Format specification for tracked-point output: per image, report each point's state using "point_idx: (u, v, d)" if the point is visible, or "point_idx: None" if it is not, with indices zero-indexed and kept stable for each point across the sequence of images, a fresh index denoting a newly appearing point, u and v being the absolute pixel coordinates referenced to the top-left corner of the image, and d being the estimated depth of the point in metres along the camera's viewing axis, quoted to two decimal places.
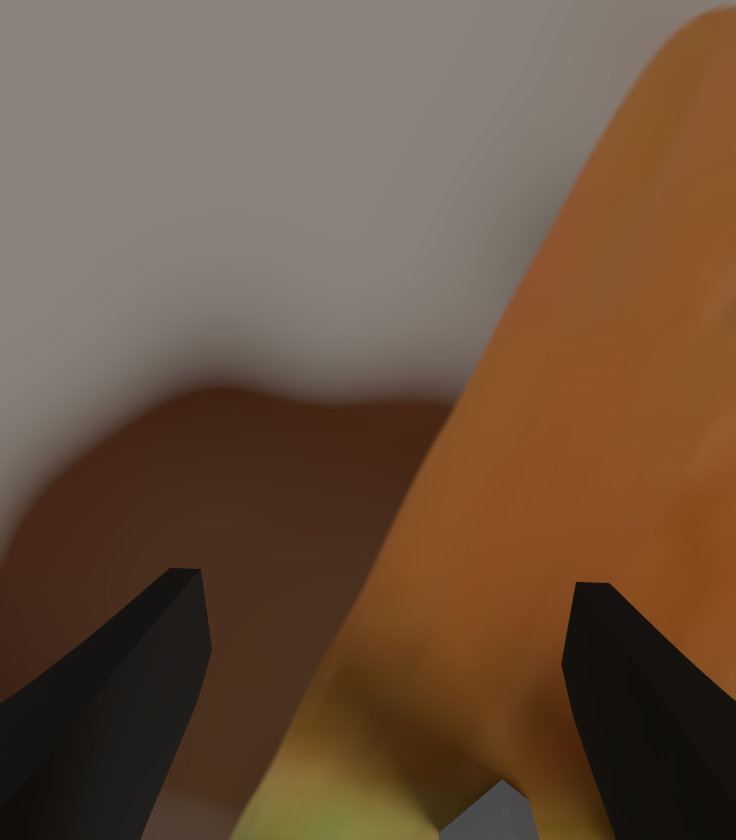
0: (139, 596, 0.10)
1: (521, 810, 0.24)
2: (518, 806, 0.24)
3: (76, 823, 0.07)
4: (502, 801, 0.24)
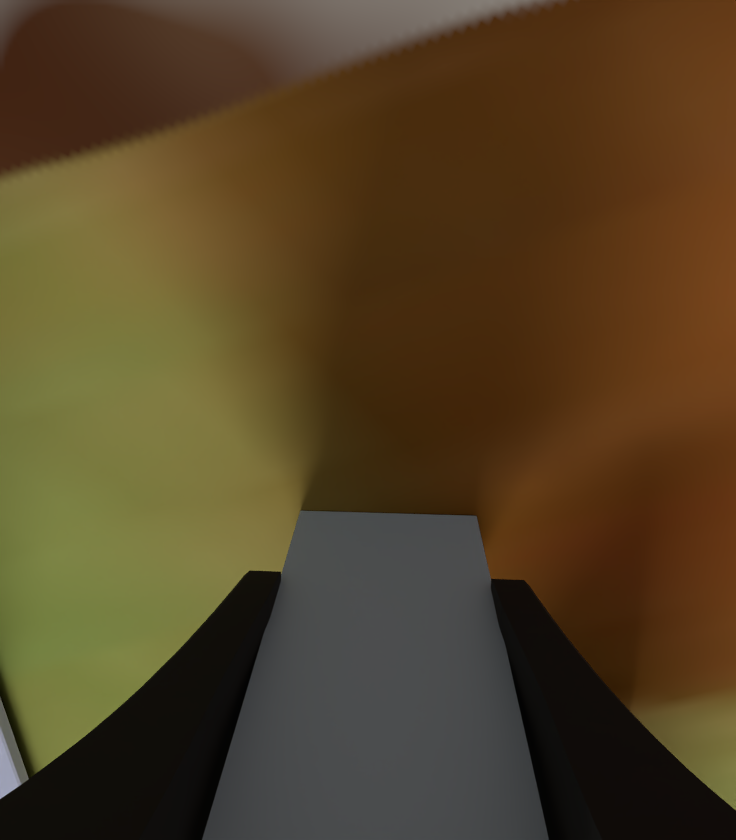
0: (228, 599, 0.10)
1: None
2: None
3: (198, 829, 0.07)
4: (471, 539, 0.12)
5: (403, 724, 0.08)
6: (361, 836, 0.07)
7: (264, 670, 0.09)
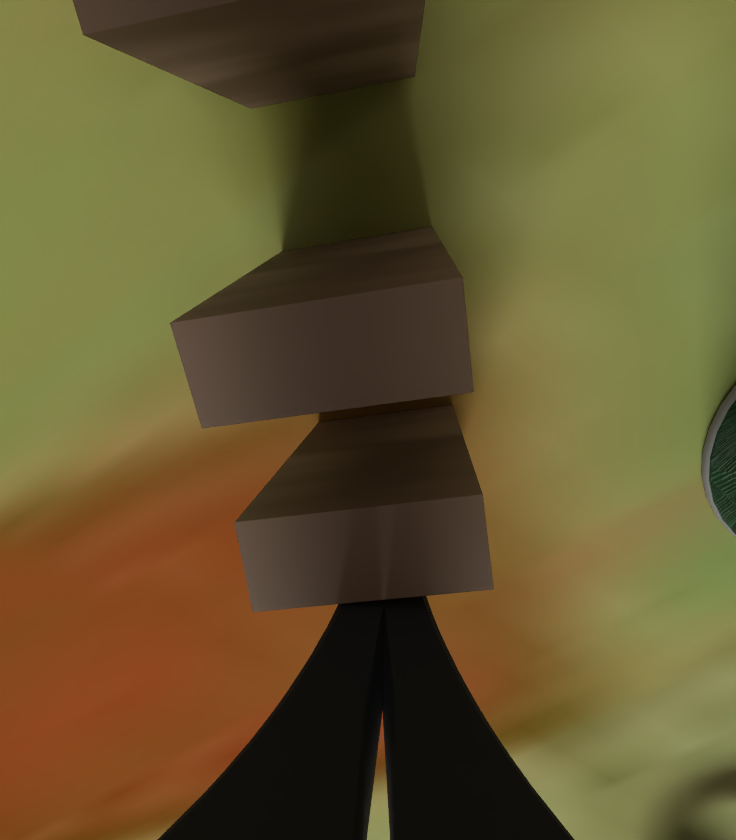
0: (345, 603, 0.10)
1: None
2: None
3: (359, 838, 0.07)
4: None
5: None
6: None
7: None
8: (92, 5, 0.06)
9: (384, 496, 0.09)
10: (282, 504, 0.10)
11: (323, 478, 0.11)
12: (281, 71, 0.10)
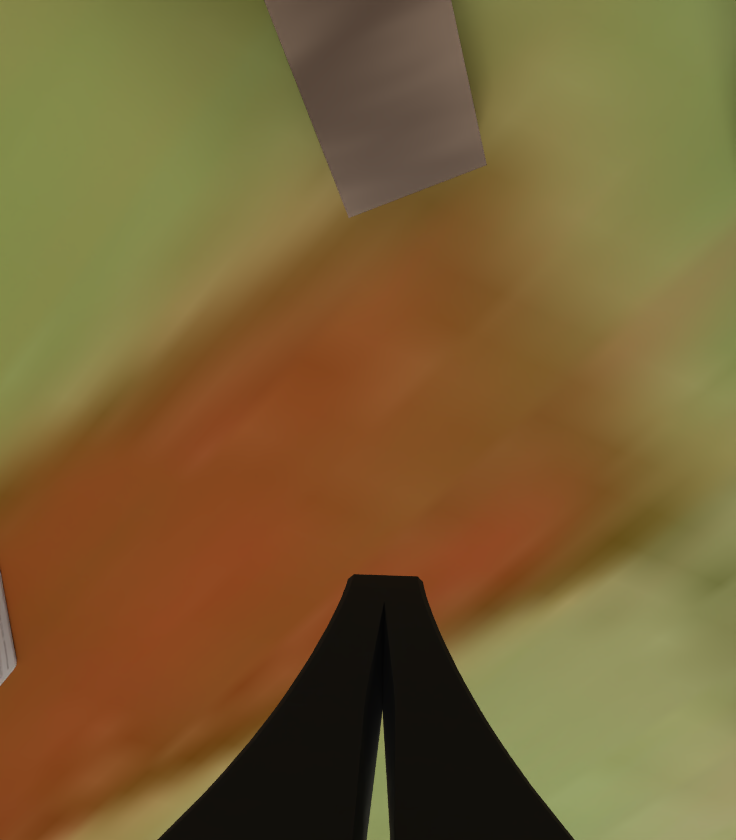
0: (345, 604, 0.10)
1: None
2: None
3: (359, 838, 0.07)
4: None
5: None
6: None
7: None
8: None
9: None
10: None
11: None
12: None
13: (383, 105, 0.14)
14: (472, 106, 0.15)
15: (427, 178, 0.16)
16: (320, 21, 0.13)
